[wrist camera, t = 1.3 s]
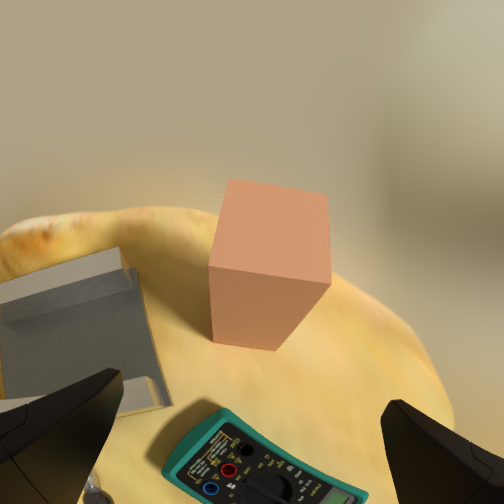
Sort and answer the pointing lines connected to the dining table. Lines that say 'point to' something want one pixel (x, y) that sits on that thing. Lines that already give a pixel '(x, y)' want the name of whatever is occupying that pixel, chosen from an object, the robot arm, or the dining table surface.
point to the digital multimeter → (248, 468)
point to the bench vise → (79, 337)
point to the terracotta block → (267, 263)
